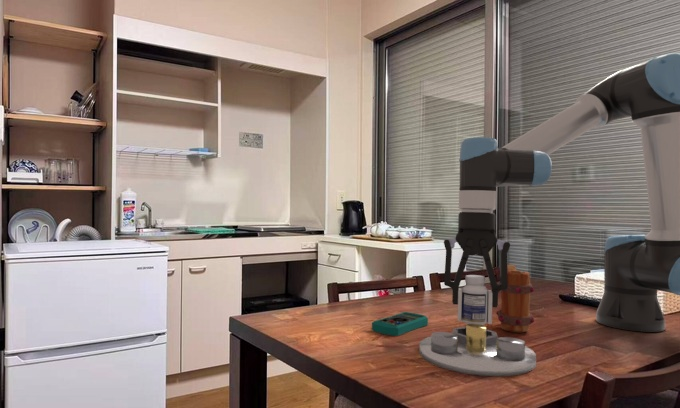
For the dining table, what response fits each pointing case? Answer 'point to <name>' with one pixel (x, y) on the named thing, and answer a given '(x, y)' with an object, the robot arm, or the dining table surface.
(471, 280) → the pill bottle
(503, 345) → the carrier
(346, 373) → the dining table surface
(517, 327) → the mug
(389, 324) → the digital multimeter
